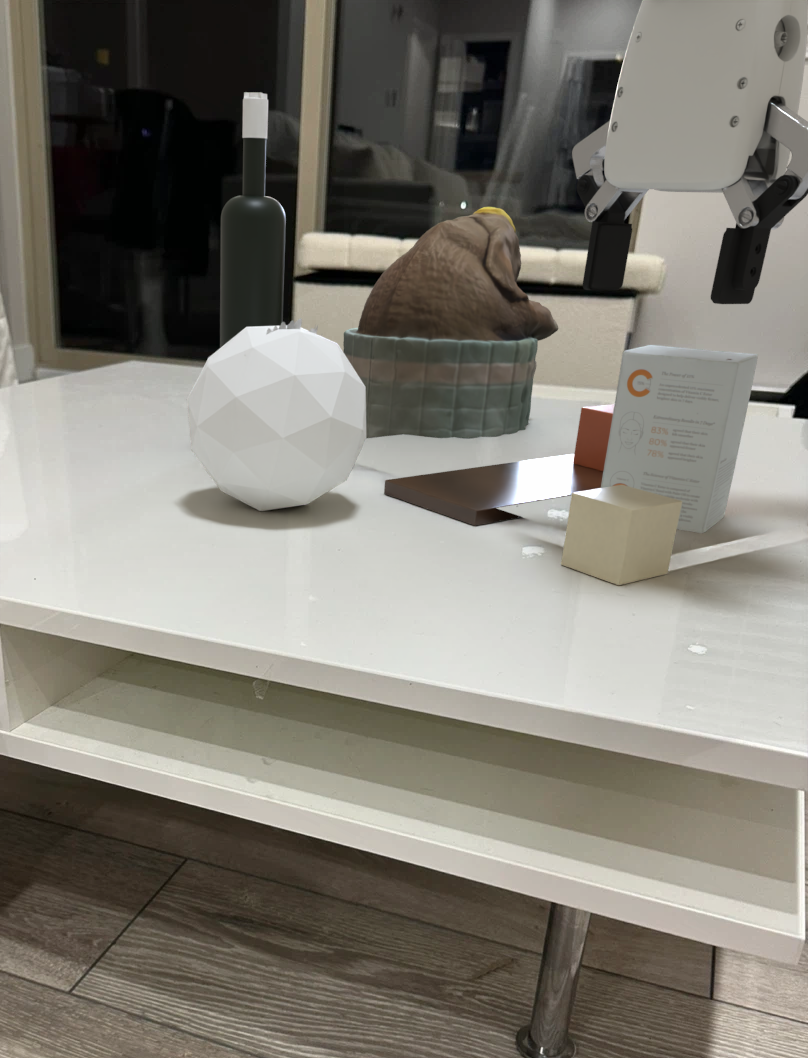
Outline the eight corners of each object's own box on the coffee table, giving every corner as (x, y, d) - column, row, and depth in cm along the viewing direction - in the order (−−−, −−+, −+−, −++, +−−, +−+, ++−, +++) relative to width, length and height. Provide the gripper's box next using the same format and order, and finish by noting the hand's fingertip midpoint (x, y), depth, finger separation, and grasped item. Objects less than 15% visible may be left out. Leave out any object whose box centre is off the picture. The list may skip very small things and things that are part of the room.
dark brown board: (592, 463, 101) (594, 450, 101) (689, 488, 93) (692, 474, 93) (383, 493, 88) (384, 479, 88) (474, 526, 80) (476, 510, 80)
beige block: (609, 554, 75) (621, 484, 72) (667, 574, 71) (682, 500, 69) (560, 564, 72) (571, 492, 70) (618, 585, 68) (632, 510, 66)
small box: (722, 530, 81) (762, 353, 75) (699, 549, 76) (740, 361, 71) (618, 512, 85) (648, 342, 79) (591, 528, 80) (621, 349, 75)
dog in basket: (540, 413, 126) (569, 209, 116) (554, 456, 103) (591, 209, 94) (351, 402, 129) (363, 203, 119) (325, 442, 107) (338, 201, 97)
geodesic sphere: (261, 399, 93) (212, 263, 81) (413, 417, 88) (384, 273, 76) (192, 531, 88) (128, 406, 76) (348, 559, 82) (306, 429, 70)
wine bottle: (262, 442, 106) (270, 97, 93) (288, 454, 101) (301, 93, 88) (209, 446, 103) (211, 92, 90) (234, 458, 99) (239, 88, 86)
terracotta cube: (609, 458, 98) (618, 403, 96) (653, 469, 94) (664, 412, 92) (572, 463, 95) (581, 407, 93) (616, 475, 92) (626, 416, 90)
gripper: (919, -51, 53) (827, 309, 61) (643, -7, 66) (595, 285, 74) (836, -77, 50) (749, 310, 57) (560, -25, 62) (519, 285, 70)
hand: (662, 296), depth 65 cm, fingers open, 9 cm apart
